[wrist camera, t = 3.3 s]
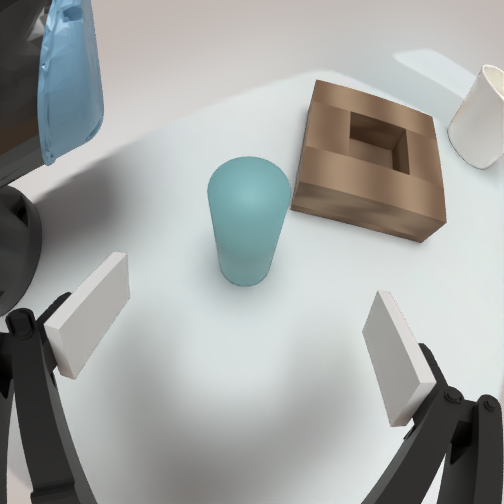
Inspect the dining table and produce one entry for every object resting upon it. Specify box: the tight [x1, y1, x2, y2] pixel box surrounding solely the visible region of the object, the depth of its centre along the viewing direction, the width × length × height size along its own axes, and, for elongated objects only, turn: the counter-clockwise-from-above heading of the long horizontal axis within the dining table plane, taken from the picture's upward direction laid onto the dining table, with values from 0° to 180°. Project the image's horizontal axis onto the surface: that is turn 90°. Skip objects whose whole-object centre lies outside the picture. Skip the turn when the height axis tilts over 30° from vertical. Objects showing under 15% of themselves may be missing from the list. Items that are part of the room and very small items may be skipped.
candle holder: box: [448, 65, 504, 169], centre depth 29 cm, size 10×10×12 cm
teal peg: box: [207, 157, 291, 286], centre depth 22 cm, size 4×4×12 cm
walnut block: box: [291, 80, 447, 243], centre depth 29 cm, size 14×14×5 cm
